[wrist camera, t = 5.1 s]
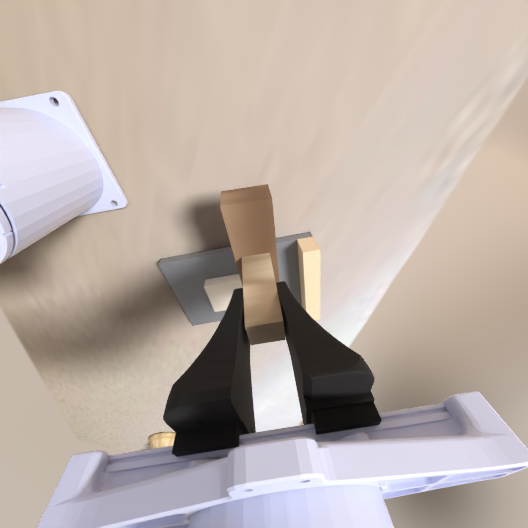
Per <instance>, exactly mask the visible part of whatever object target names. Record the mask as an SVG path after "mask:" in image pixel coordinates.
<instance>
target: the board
mask: <svg viewBox="0 0 528 528" xmlns="http://www.w3.org/2000/svg"><path fill="white" fill-rule="evenodd" d="M276 248H277V259H278V269H279V280H280V282H282V281H285V282H286V284H287V286H288V287H289V289H290V291H291V292H292V294H293V295H294V297H295V298H296V299H297V301H298V302H299V303H300V305H301V306H302V307H303V308H304V309H305V310H306V312H307V313H308V314H309V315H310V316H311V317H312V318H313V319H314V320H315V321H316V320H320V248H319V247H318V245H317V243H316V241H315V240H314V238H313V236H312V234H311V233H310V232H307V233H302V234H296V235H291V236H285V237H280V238H276ZM158 265H159V267H160V269H161V271H162V273H163V274H164V276H165V278H166V280H167V281H168V283H169V285H170V287H171V289H172V290H173V292H174V294H175V296H176V297H177V299H178V301H179V303H180V305H181V306H182V308H183V310H184V312H185V313H186V315H187V317H188V319H189V321H190V322H191V324H192V326H193V325H199V324H204V323H210V322H216V321H221V320H222V318H223V316H224V314H225V312H226V310H224V311H218V312H215V311H214V309H213V307H212V304H211V302H210V300H209V297H208V295H207V293H206V291H205V288H204V284H205V280H207V279H212V278H218V277H224V276H229V275H235V274H239V272H238V269H237V265H236V261H235V258H234V254H233V251H232V247H231V246H230V247H224V248H219V249H213V250H208V251H202V252H197V253H191V254H186V255H180V256H174V257H169V258H163V259H161V260H160V262H159V263H158Z"/></svg>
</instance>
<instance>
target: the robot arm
mask: <svg viewBox="0 0 528 528" xmlns="http://www.w3.org/2000/svg"><path fill="white" fill-rule="evenodd" d="M54 98H56V99H57V100H58V102H59V106H57V105H56V104H55V103H54ZM113 201H116V202H117V204H118V205H116V204H114V203H113ZM127 205H128V201H127V199H126V197H125V195H124V193H123V191H122V190H121V188H120V186H119V184H118V182H117V180H116V179H115V177H114V175H113V173H112V171H111V169H110V168H109V166H108V164H107V162H106V160H105V159H104V157H103V155H102V153H101V151H100V149H99V148H98V146H97V144H96V142H95V140H94V138H93V137H92V135H91V133H90V131H89V129H88V127H87V126H86V124H85V122H84V120H83V118H82V116H81V115H80V113H79V111H78V109H77V107H76V105H75V104H74V102H73V100H72V98H71V97H70V96H69V95H68V94H67V93H65V92H63V91H53V92H48V93H43V94H38V95H33V96H27V97H22V98H17V99H12V100H7V101H2V102H0V264H1V263H3V262H4V261H6V260H7V259H9V258H11V257H12V256H14V255H15V254H17V253H19V252H20V251H22V250H23V249H25V248H27V247H28V246H30V245H31V244H33V243H35V242H36V241H38V240H39V239H41V238H43V237H44V236H46V235H47V234H49V233H51V232H52V231H54V230H55V229H57V228H59V227H60V226H62V225H63V224H65V223H67V222H68V221H70V220H71V219H73V218H75V217H76V216H82V215H87V214H93V213H98V212H103V211H109V210H114V209H119V208H124V207H126V206H127ZM276 286H277V293H278V296H279V301H280V306H281V311H282V316H283V321H284V332H285V337H286V340H287V344H288V347H289V351H290V355H291V360H292V365H293V370H294V376H295V381H296V386H297V391H298V397H299V402H300V407H301V413H302V418H303V424H304V425H301V426H295V427H288V428H282V429H276V430H269V431H263V432H256V431H255V420H254V409H253V397H252V384H251V370H250V341H249V338H248V335H247V332H246V329H245V319H244V297H243V288H238V289H234V291H233V294H232V297H231V300H230V303H229V305H228V307H227V310H226V312H225V314H224V316H223V318H222V320H221V322H220V324H219V326H218V328H217V330H216V331H215V333H214V335H213V336H212V338H211V339H210V341H209V342H208V344H207V345H206V347H205V348H204V350H203V351H202V352H201V354H200V355H199V356H198V357H197V359H196V360H195V361H194V362H193V364H192V365H191V366H190V367H189V368H188V370H187V371H186V372H185V373H184V374H183V375H182V376H181V377H180V378H179V379H178V380H177V381H176V382H175V383H174V384H173V386H172V389H171V391H170V394H169V397H168V400H167V404H166V408H165V412H164V416H163V419H164V421H165V422H166V424H167V425H168V426H170V427H171V428H172V429H173V430H174V431H175V432H176V434H175V439H174V444H173V446H167V447H161V448H155V449H148V450H142V451H136V452H129V453H123V454H117V455H109V454H108V453H107V452H104V451H92V452H85V453H79V454H74V455H72V456H71V458H70V460H69V462H68V464H67V466H66V468H65V470H64V473H63V475H62V477H61V479H60V481H59V483H58V485H57V487H56V489H55V491H54V493H53V495H52V497H51V499H50V501H49V503H48V505H47V507H46V509H45V511H44V513H43V515H42V517H41V520H40V521H39V524H38V525H37V527H36V528H394V526H393V524H392V521H391V518H390V516H389V513H388V510H387V508H386V505H385V502H384V499H388V498H393V497H398V496H403V495H408V494H413V493H419V492H423V491H429V490H434V489H439V488H444V487H449V486H454V485H460V484H466V483H471V482H477V481H483V480H489V479H495V478H501V477H504V476H507V475H510V474H512V473H514V472H517V471H520V470H523V469H525V468H528V449H527V448H526V446H525V445H524V444H523V443H522V442H521V441H520V439H519V438H518V437H517V436H516V435H515V434H514V432H513V431H512V430H511V429H510V428H509V427H508V425H507V424H506V423H505V422H504V421H503V420H502V418H500V416H499V415H498V414H497V413H496V411H495V410H494V409H493V408H492V407H491V405H490V404H489V403H488V402H487V401H486V400H485V399H484V397H483V396H482V395H481V394H480V393H479V392H477V391H474V392H467V393H461V394H455V395H451V396H449V397H447V398H446V399H445V400H444V403H441V404H435V405H428V406H422V407H416V408H409V409H403V410H397V411H390V412H384V413H378V411H377V409H376V406H375V404H374V397H373V395H372V393H371V388H372V385H373V383H374V376H373V374H372V372H371V370H370V368H369V367H368V365H367V364H366V362H365V361H364V359H363V358H362V357H361V356H360V355H359V354H357V353H356V352H354V351H353V350H351V349H350V348H348V347H347V346H345V345H344V344H342V343H341V342H340V341H338V340H337V339H336V338H334V337H333V336H332V335H331V334H330V333H328V332H327V331H326V330H325V329H323V328H322V327H321V326H320V325H319V324H318V323H317V322H316V321H315V320H314V319H313V318H312V317H311V316H310V315H309V314H308V313H307V312H306V310H305V309H304V308H303V307H302V306H301V305H300V303H299V302H298V301H297V299H296V298H295V297H294V295H293V294H292V292H291V291H290V289H289V287H288V286H287V284H286V282H285V281H282V282H276Z"/></svg>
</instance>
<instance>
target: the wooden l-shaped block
mask: <svg viewBox="0 0 528 528" xmlns="http://www.w3.org/2000/svg"><path fill="white" fill-rule="evenodd" d="M220 208H221V212H222V215H223V219H224V222H225V226H226V230H227V233H228V237H229V240H230V244H231V247H232V251H233V254H234V258H235V261H236V265H237V269H238V272H239V276H240V279H241V283H242V286H243V297H244V319H245V329H246V332H247V335H248V338H249V341H250V344H251V345H255V344H261V343H267V342H274V341H280V340H285V332H284V321H283V316H282V311H281V306H280V301H279V296H278V293H277V286H276V282H280V280H279V269H278V259H277V248H276V237H275V227H274V216H273V205H272V197H271V194H270V191H269V187H268V184H266V185H260V186H253V187H247V188H241V189H234V190H228V191H222V192H221V201H220Z"/></svg>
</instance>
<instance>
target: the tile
mask: <svg viewBox="0 0 528 528" xmlns="http://www.w3.org/2000/svg"><path fill="white" fill-rule="evenodd" d="M204 288H205V291H206V293H207V295H208V297H209V300H210V302H211V304H212V307H213V309H214V311H215V312H218V311H224V310H227V307H228V305H229V303H230V300H231V297H232V294H233V291H234V289H238V288H243V286H242V283H241V279H240V276H239V274H235V275H229V276H224V277H218V278H212V279H207V280H205V284H204Z"/></svg>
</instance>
